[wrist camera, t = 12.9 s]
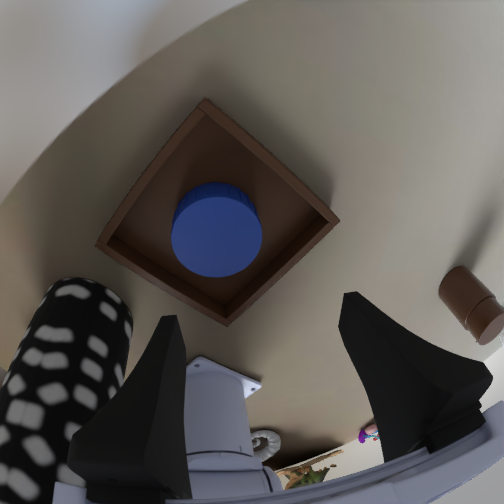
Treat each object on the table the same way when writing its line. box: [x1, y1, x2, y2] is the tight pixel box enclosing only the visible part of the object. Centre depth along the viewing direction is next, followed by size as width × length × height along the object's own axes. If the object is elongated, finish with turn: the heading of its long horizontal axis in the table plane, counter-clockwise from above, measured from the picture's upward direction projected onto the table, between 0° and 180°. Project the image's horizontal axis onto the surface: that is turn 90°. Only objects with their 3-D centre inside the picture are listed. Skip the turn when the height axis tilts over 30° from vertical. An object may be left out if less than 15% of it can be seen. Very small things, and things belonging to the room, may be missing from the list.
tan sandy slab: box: [276, 450, 344, 490], centre depth 41 cm, size 18×14×8 cm
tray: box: [95, 97, 340, 327], centre depth 20 cm, size 11×11×2 cm
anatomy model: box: [359, 424, 380, 443], centre depth 40 cm, size 5×8×7 cm
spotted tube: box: [0, 278, 133, 504], centre depth 15 cm, size 8×8×20 cm
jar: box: [439, 266, 504, 345], centre depth 24 cm, size 4×4×7 cm
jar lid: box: [170, 182, 262, 277], centre depth 19 cm, size 5×5×3 cm
